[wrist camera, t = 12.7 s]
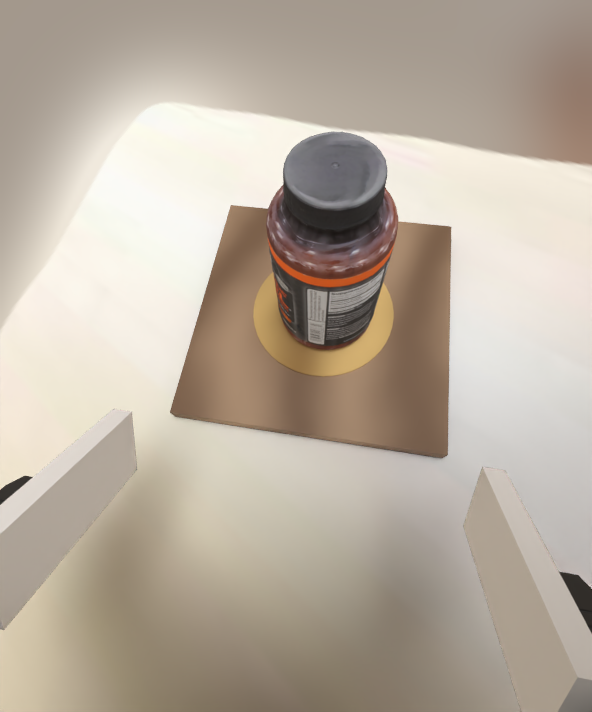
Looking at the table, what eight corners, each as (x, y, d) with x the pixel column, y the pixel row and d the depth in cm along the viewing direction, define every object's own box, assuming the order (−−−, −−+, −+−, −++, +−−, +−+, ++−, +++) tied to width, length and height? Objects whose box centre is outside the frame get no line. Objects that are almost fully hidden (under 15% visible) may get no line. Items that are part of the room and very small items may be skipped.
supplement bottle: (271, 283, 26) (244, 125, 16) (357, 264, 27) (386, 98, 16) (290, 363, 24) (273, 241, 14) (385, 342, 24) (438, 206, 14)
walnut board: (446, 236, 29) (451, 225, 28) (442, 457, 23) (448, 454, 22) (233, 214, 30) (230, 203, 29) (175, 416, 24) (168, 411, 23)
